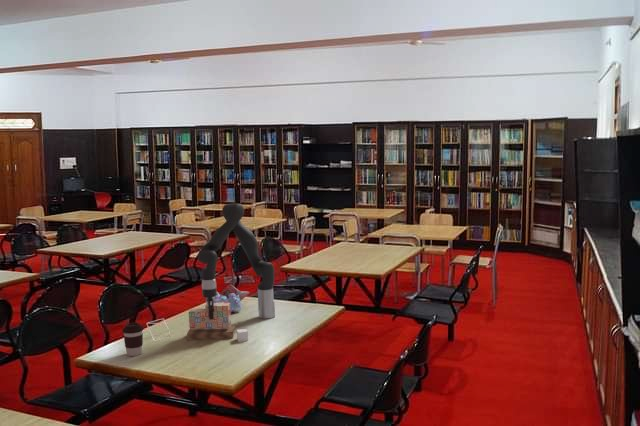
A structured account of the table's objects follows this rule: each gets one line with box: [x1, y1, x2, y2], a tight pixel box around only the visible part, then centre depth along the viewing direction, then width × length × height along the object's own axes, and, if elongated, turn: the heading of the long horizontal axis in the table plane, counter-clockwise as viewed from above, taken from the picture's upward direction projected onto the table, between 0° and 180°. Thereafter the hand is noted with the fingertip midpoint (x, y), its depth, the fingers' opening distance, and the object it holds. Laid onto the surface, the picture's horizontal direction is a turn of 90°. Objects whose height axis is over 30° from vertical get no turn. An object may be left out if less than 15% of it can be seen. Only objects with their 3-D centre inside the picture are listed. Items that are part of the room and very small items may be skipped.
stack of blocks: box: [188, 303, 232, 329], centre depth 308 cm, size 21×6×12 cm, turn 87°
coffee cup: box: [121, 322, 144, 357], centre depth 284 cm, size 10×10×15 cm
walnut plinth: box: [186, 325, 236, 341], centre depth 309 cm, size 24×10×4 cm, turn 93°
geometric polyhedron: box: [146, 318, 172, 342], centre depth 309 cm, size 12×11×9 cm
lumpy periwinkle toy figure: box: [212, 283, 251, 313], centre depth 360 cm, size 20×22×18 cm
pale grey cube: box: [236, 328, 249, 343], centre depth 302 cm, size 5×5×5 cm
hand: (210, 317), depth 308 cm, fingers closed on stack of blocks, 7 cm apart
